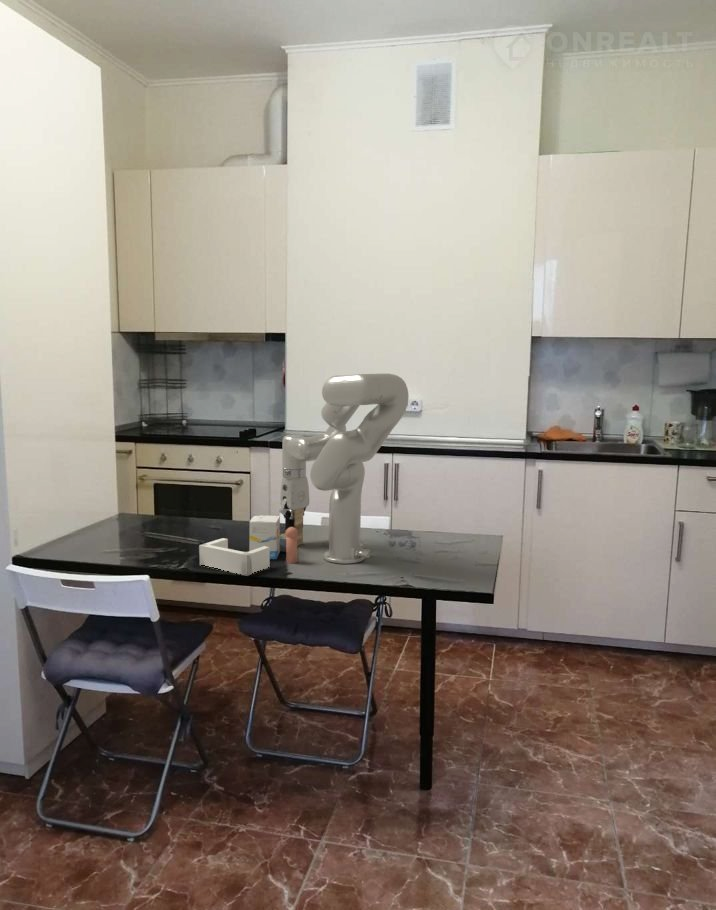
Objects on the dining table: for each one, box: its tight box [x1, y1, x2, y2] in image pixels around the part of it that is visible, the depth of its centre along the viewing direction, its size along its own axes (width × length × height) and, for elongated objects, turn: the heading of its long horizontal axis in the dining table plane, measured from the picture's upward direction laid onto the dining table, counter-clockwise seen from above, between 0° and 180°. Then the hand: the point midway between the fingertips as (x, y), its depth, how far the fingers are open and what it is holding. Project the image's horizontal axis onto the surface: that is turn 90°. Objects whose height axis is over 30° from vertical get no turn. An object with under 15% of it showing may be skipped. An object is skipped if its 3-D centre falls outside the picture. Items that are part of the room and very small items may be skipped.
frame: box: [198, 537, 271, 577], centre depth 210 cm, size 18×10×6 cm, turn 58°
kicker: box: [280, 508, 304, 553], centre depth 231 cm, size 10×11×14 cm
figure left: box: [285, 527, 298, 564], centre depth 215 cm, size 4×4×11 cm
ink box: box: [248, 514, 281, 560], centre depth 222 cm, size 9×8×12 cm
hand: (294, 528), depth 234 cm, fingers closed on kicker, 4 cm apart
